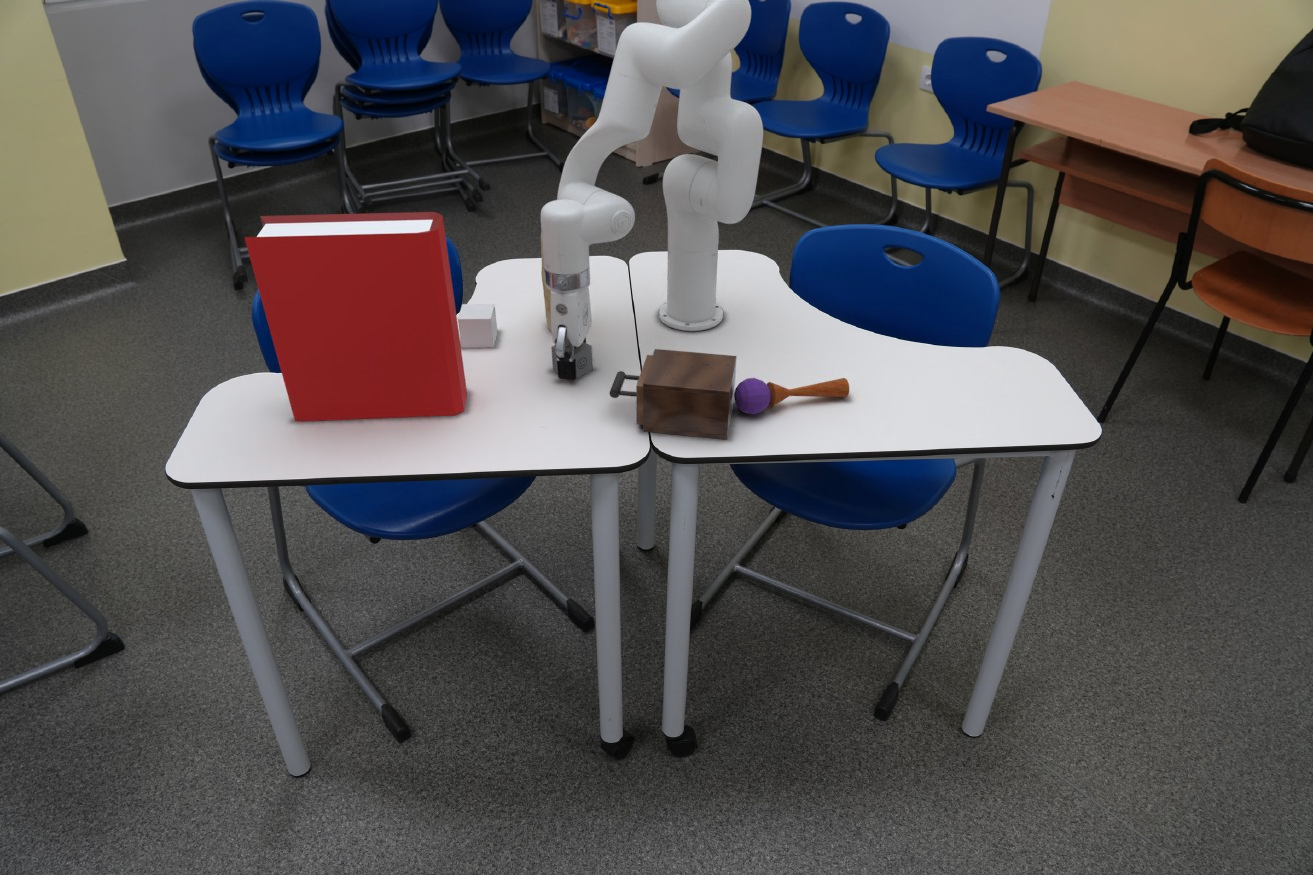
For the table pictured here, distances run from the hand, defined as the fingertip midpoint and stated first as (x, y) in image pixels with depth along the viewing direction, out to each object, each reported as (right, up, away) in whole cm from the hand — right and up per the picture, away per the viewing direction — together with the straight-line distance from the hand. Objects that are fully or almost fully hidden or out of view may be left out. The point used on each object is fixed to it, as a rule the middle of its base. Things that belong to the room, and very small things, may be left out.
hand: (572, 367), depth 161 cm
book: (-31, -7, -9) cm, 33 cm away
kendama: (+38, -7, -8) cm, 39 cm away
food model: (-3, +9, +14) cm, 17 cm away
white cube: (-18, +6, +10) cm, 22 cm away
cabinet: (+20, -9, -11) cm, 25 cm away
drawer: (+16, -8, -11) cm, 21 cm away
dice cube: (0, -1, +1) cm, 1 cm away
